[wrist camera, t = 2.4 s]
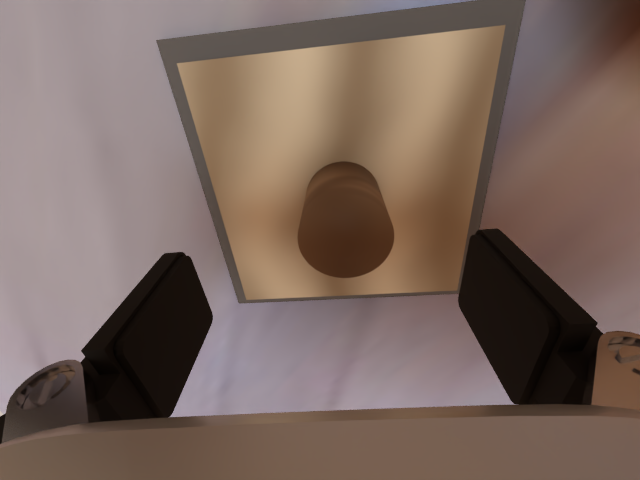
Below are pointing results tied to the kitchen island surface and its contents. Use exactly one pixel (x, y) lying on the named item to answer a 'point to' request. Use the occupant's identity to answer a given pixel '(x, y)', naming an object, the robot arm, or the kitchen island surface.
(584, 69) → the kitchen island surface
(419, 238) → the birch lid
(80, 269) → the kitchen island surface
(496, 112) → the rubber mat
